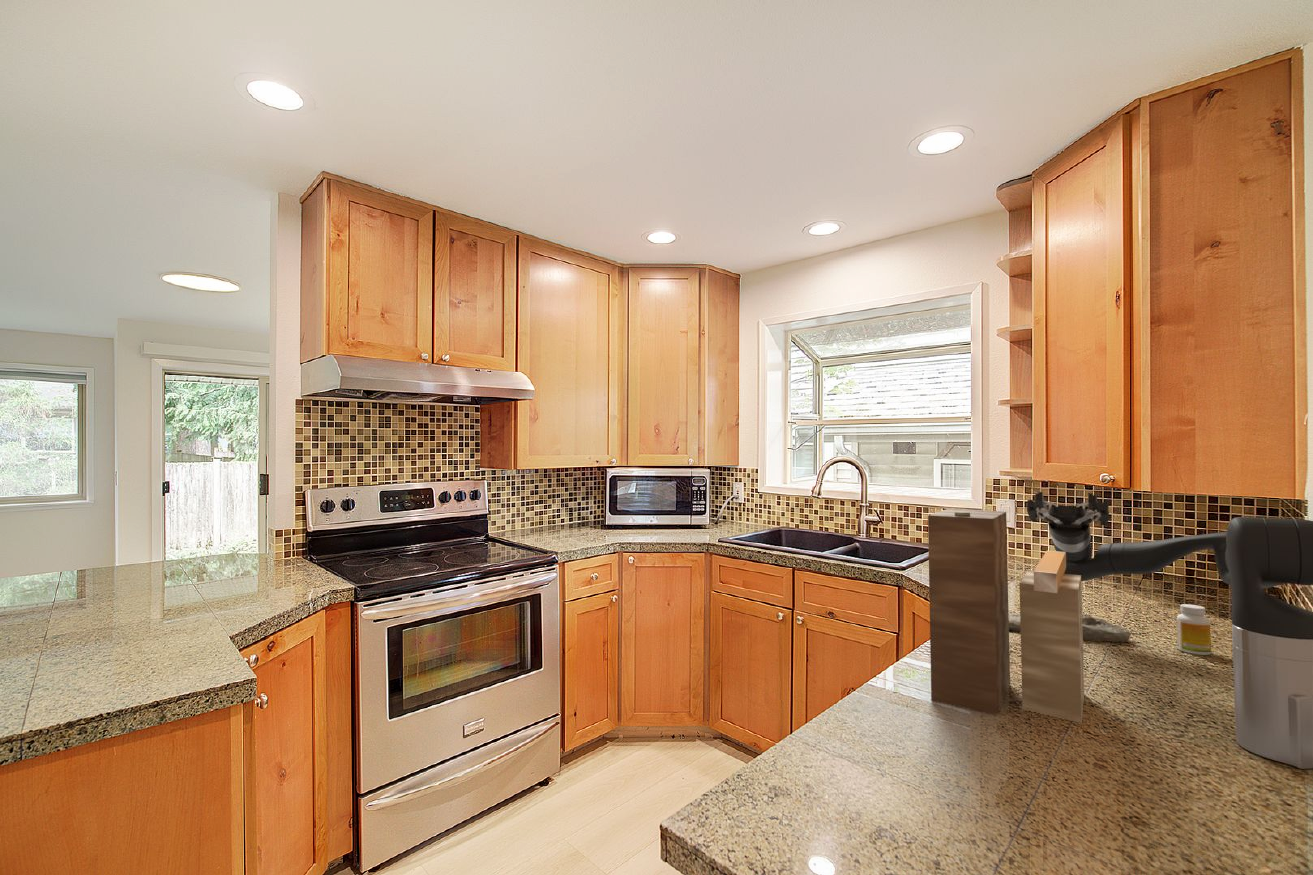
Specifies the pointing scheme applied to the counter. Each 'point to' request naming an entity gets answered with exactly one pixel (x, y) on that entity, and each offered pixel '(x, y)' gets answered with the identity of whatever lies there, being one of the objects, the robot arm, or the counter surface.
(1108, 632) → the long grey stone
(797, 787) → the counter surface
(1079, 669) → the short stand
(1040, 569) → the pale tan wood block
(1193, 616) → the supplement bottle
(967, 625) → the tall stand
